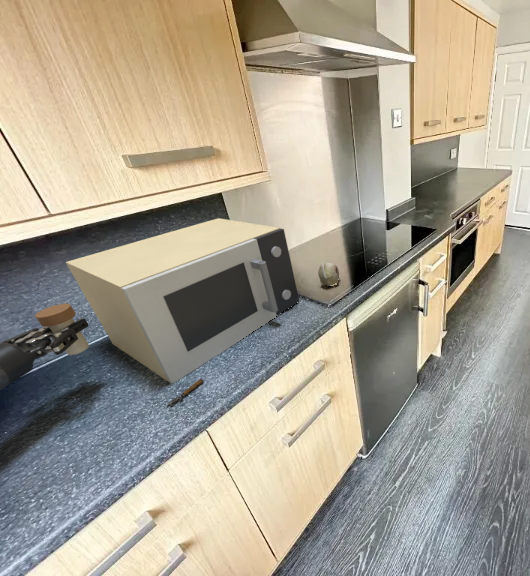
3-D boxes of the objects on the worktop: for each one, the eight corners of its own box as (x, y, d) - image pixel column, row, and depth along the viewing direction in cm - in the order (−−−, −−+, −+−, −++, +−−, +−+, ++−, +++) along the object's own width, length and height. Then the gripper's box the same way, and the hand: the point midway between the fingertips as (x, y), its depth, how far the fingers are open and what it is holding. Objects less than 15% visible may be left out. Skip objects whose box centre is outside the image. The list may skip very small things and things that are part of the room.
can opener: (201, 380, 79) (200, 377, 78) (207, 384, 78) (205, 380, 77) (164, 406, 72) (162, 403, 71) (169, 410, 71) (167, 406, 70)
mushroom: (55, 359, 71) (27, 319, 66) (73, 344, 76) (48, 305, 71) (84, 355, 72) (58, 315, 67) (99, 340, 77) (76, 301, 72)
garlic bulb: (328, 295, 120) (319, 276, 113) (317, 284, 125) (308, 266, 118) (348, 281, 123) (340, 262, 116) (336, 271, 128) (328, 253, 121)
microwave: (301, 303, 110) (285, 228, 98) (173, 385, 78) (125, 289, 66) (238, 283, 128) (218, 218, 115) (112, 344, 96) (65, 262, 83)
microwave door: (287, 321, 101) (268, 241, 88) (182, 391, 76) (135, 294, 63) (273, 316, 104) (253, 238, 91) (168, 381, 79) (120, 287, 67)
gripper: (5, 358, 56) (95, 308, 71) (-58, 355, 58) (42, 307, 73) (30, 390, 60) (110, 335, 75) (-31, 386, 62) (60, 333, 77)
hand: (76, 321), depth 74 cm, fingers closed on mushroom, 4 cm apart
